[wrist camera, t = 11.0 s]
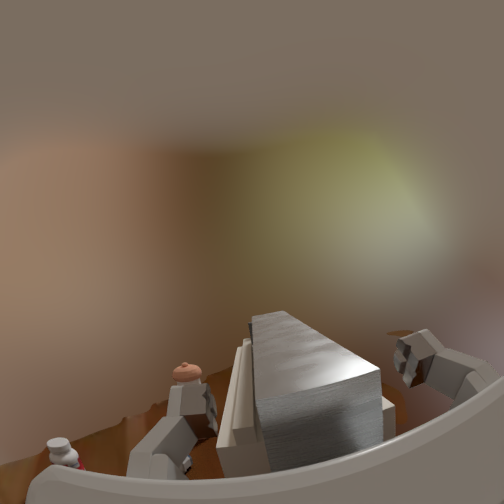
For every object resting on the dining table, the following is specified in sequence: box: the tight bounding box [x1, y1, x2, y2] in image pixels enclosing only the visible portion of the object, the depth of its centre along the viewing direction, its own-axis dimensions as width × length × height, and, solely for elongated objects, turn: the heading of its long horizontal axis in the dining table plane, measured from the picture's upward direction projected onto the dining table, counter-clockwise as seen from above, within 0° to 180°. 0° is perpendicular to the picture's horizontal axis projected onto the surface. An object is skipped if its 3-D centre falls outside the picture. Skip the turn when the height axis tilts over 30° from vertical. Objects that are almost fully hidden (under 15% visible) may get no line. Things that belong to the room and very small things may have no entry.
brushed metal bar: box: [252, 311, 383, 473], centre depth 21 cm, size 28×4×4 cm, turn 0°
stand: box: [216, 322, 395, 478], centre depth 23 cm, size 27×9×29 cm, turn 0°
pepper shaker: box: [172, 363, 206, 439], centre depth 60 cm, size 7×7×19 cm
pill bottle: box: [47, 438, 86, 471], centre depth 31 cm, size 6×6×11 cm
